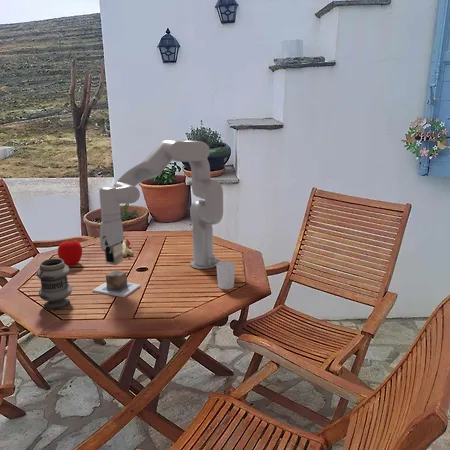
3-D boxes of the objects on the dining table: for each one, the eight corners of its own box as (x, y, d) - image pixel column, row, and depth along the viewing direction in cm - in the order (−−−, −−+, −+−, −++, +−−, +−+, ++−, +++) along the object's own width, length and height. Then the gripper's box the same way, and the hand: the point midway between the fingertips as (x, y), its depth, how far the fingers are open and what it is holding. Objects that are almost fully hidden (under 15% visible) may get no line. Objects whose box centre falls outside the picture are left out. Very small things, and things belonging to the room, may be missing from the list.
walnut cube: (127, 285, 187) (126, 272, 186) (118, 290, 182) (117, 277, 180) (115, 283, 189) (114, 270, 188) (106, 288, 184) (105, 275, 182)
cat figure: (137, 257, 227) (125, 240, 248) (137, 242, 224) (124, 226, 245) (118, 260, 223) (107, 243, 244) (117, 244, 220) (106, 228, 241)
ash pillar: (122, 261, 184) (121, 243, 182) (115, 265, 179) (114, 246, 177) (113, 259, 186) (111, 241, 184) (105, 263, 181) (104, 245, 179)
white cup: (222, 291, 182) (221, 269, 179) (213, 285, 189) (213, 263, 186) (238, 287, 186) (238, 265, 183) (229, 281, 192) (229, 260, 190)
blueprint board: (141, 286, 188) (141, 284, 188) (124, 297, 178) (124, 295, 177) (110, 281, 194) (110, 279, 194) (92, 291, 183) (92, 289, 183)
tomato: (64, 270, 207) (61, 245, 203) (56, 264, 214) (53, 239, 211) (87, 265, 214) (85, 239, 210) (78, 259, 222) (75, 235, 218)
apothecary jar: (41, 314, 164) (35, 269, 159) (40, 301, 175) (34, 258, 170) (75, 308, 169) (70, 264, 164) (72, 296, 180) (67, 254, 175)
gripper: (116, 211, 186) (118, 252, 191) (89, 221, 171) (93, 265, 176) (130, 213, 183) (133, 254, 188) (105, 223, 168) (109, 267, 173)
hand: (114, 259), depth 182 cm, fingers closed on ash pillar, 5 cm apart
